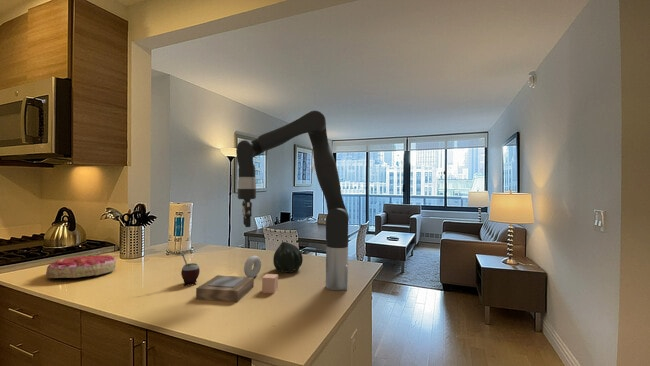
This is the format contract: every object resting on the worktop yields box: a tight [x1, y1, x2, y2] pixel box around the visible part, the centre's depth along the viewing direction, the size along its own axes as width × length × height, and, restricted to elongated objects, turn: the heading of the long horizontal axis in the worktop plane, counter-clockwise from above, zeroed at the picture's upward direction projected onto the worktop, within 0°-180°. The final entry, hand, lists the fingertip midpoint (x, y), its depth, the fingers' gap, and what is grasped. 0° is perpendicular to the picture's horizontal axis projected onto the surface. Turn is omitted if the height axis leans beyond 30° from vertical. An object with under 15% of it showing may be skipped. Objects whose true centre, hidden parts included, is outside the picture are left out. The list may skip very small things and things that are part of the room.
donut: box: [243, 255, 262, 278], centre depth 135 cm, size 10×4×10 cm, turn 153°
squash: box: [273, 241, 304, 273], centre depth 147 cm, size 14×15×15 cm
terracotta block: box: [261, 273, 279, 294], centre depth 118 cm, size 5×5×6 cm
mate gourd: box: [175, 249, 200, 287], centre depth 125 cm, size 8×8×15 cm
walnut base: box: [195, 274, 255, 303], centre depth 115 cm, size 16×16×4 cm
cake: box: [45, 254, 117, 280], centre depth 136 cm, size 25×25×8 cm
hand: (246, 225), depth 126 cm, fingers open, 8 cm apart
